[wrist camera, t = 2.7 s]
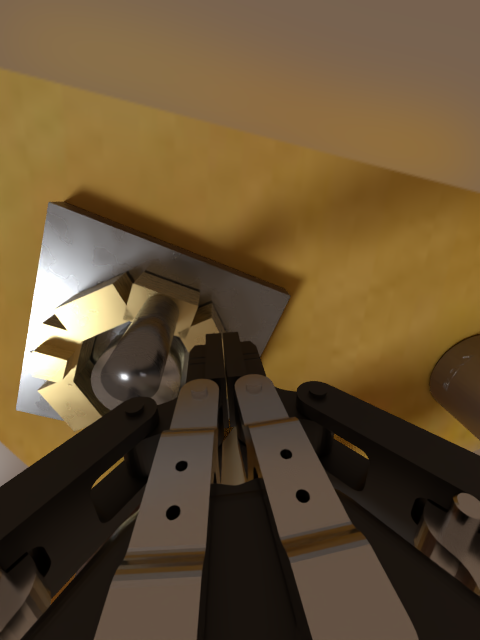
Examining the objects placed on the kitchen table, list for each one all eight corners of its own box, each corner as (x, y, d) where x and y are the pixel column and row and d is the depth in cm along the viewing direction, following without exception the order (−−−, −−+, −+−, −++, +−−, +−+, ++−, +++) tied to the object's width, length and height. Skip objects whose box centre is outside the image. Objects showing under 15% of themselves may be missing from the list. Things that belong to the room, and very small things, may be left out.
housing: (284, 288, 24) (306, 315, 19) (211, 438, 30) (211, 491, 25) (63, 201, 20) (8, 202, 15) (29, 395, 26) (-19, 447, 21)
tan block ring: (255, 312, 22) (288, 397, 13) (198, 435, 27) (190, 566, 17) (75, 247, 19) (-59, 296, 10) (45, 399, 24) (-67, 534, 14)
